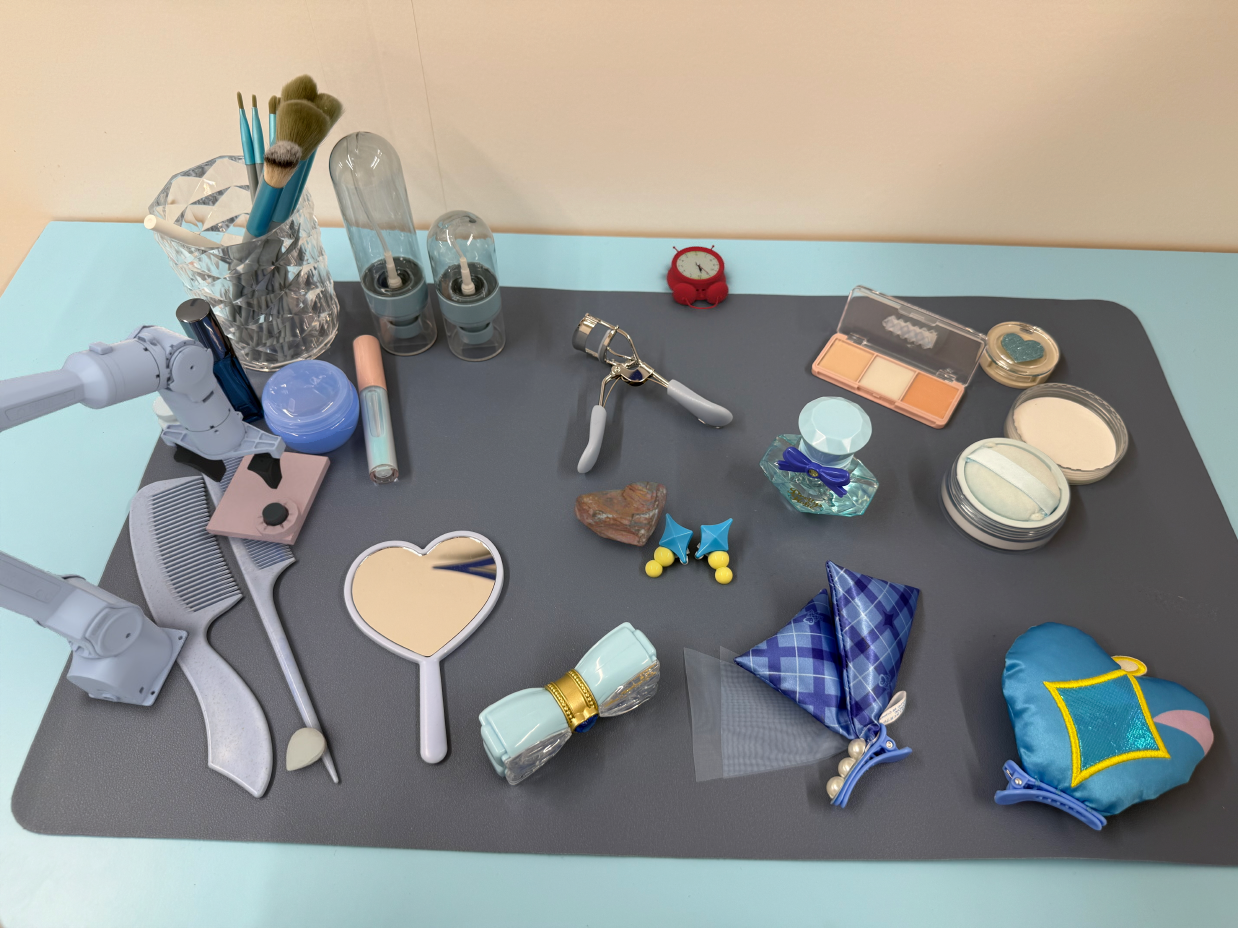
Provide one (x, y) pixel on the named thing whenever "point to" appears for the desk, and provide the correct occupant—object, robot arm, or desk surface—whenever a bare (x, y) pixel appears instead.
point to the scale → (269, 499)
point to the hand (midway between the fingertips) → (249, 479)
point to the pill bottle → (164, 413)
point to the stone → (623, 511)
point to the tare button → (274, 514)
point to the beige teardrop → (305, 748)
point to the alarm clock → (697, 276)
